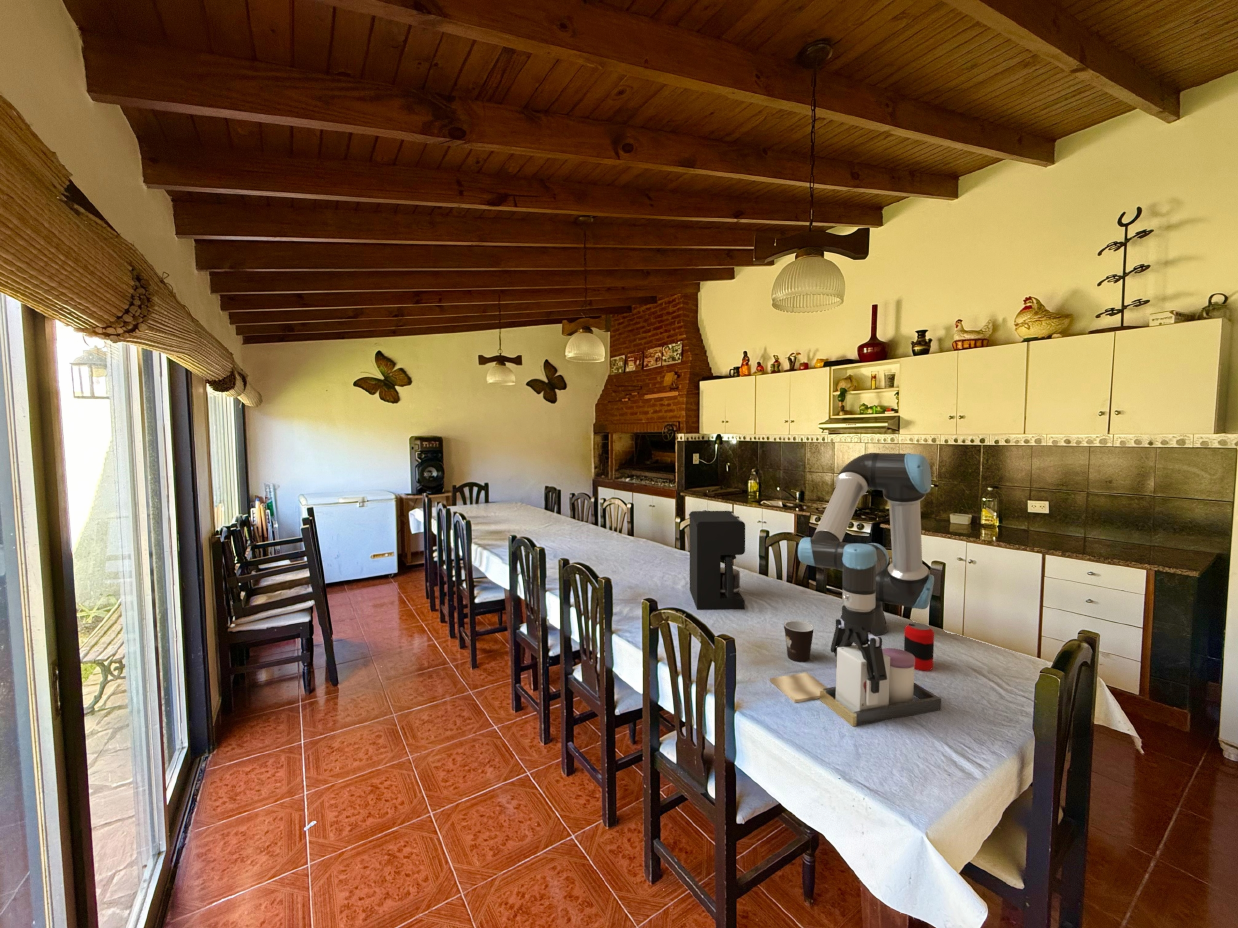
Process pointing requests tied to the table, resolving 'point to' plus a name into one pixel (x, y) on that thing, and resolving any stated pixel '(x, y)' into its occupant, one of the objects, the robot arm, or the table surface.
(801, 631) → the coffee mug
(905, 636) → the soda can
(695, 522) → the coffee maker
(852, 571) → the robot arm
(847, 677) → the supplement box
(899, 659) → the cream lidded canister
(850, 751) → the table surface
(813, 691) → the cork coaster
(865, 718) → the grey tray
